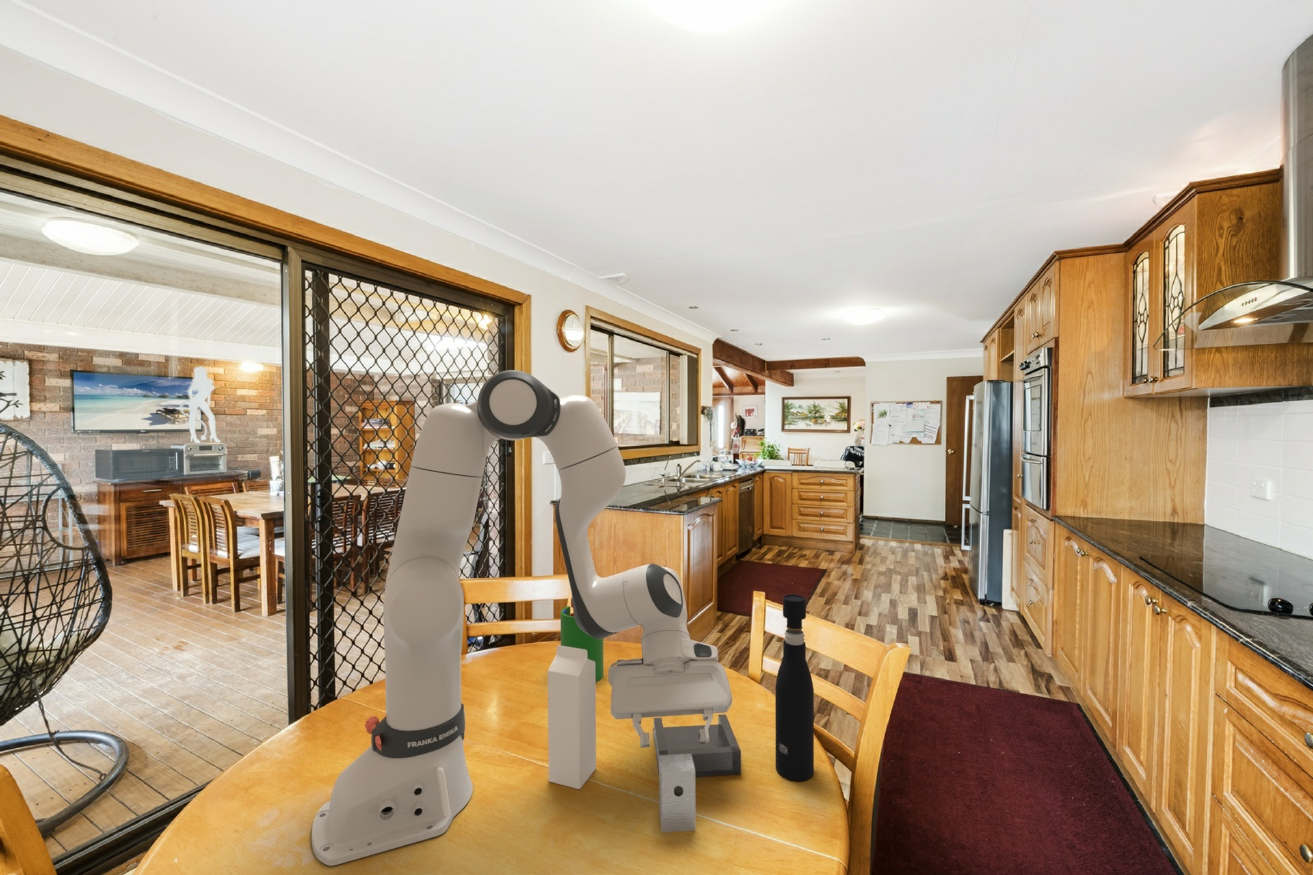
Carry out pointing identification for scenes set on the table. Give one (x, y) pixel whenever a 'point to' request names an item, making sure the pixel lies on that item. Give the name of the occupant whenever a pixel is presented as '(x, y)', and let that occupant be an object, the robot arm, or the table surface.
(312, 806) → the table surface
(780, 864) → the table surface
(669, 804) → the block
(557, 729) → the milk
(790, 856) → the table surface
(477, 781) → the table surface
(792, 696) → the black water bottle
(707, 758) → the bracket
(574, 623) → the green pencil holder
